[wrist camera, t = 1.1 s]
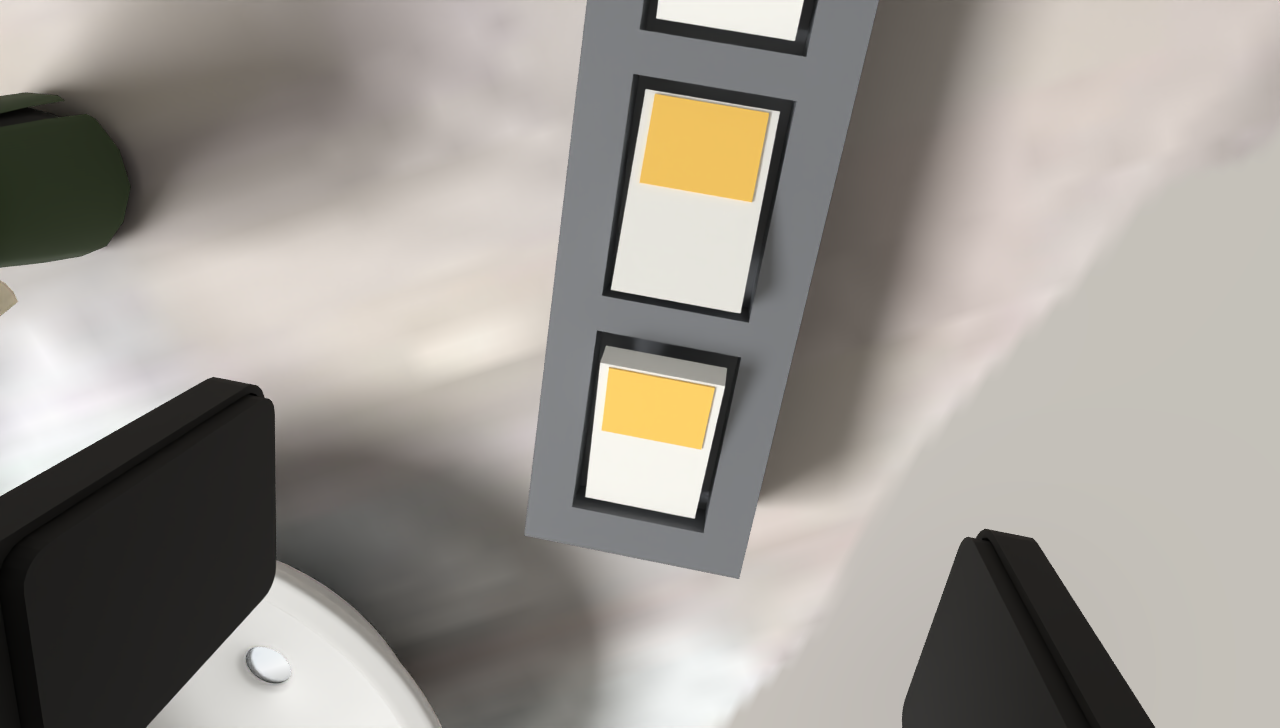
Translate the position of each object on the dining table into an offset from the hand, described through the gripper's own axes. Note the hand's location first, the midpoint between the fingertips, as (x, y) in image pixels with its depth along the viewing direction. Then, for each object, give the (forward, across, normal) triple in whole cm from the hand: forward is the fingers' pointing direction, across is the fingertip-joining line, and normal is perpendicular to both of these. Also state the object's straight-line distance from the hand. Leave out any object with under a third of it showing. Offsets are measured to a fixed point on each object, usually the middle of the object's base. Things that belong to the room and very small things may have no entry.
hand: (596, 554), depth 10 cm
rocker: (+16, 0, +6) cm, 17 cm away
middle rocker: (+16, 0, -2) cm, 16 cm away
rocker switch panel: (+21, 0, -5) cm, 21 cm away
